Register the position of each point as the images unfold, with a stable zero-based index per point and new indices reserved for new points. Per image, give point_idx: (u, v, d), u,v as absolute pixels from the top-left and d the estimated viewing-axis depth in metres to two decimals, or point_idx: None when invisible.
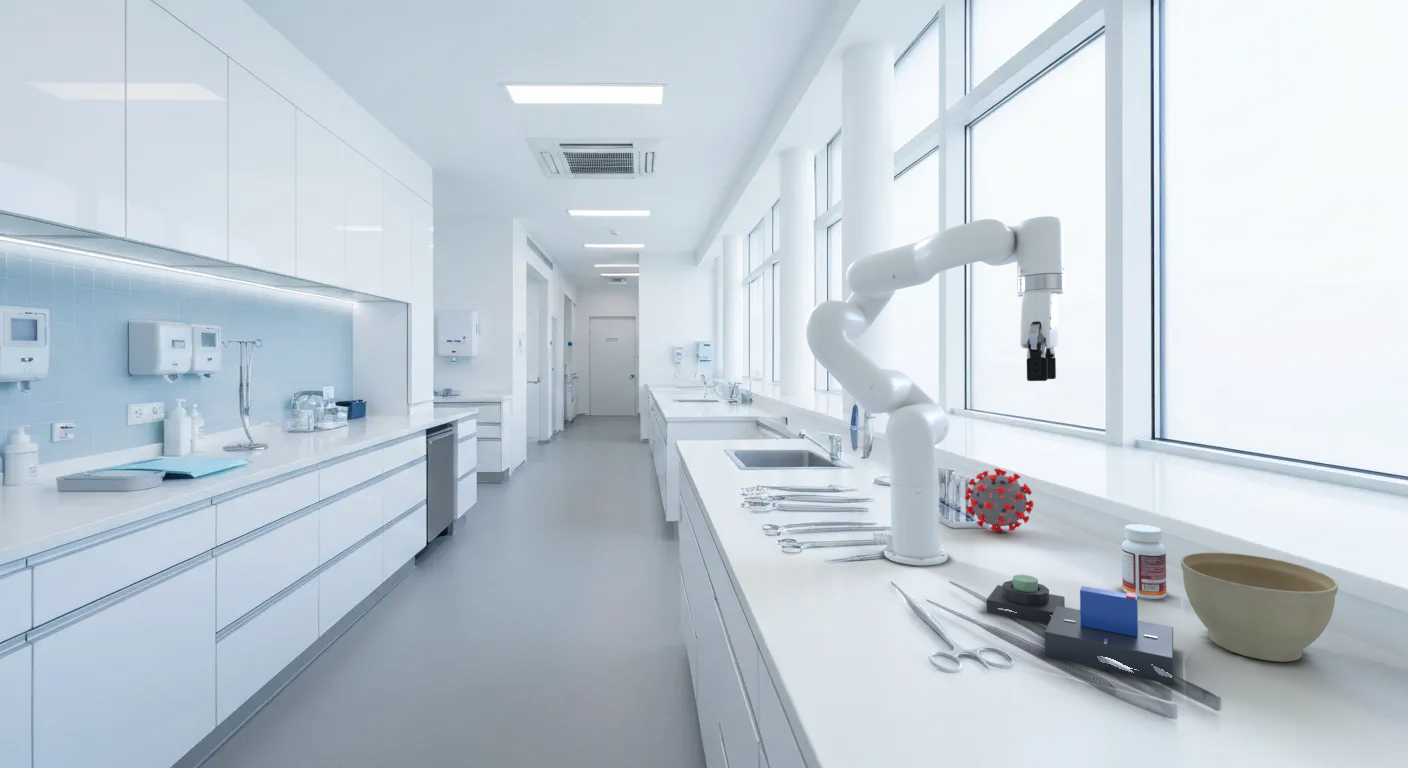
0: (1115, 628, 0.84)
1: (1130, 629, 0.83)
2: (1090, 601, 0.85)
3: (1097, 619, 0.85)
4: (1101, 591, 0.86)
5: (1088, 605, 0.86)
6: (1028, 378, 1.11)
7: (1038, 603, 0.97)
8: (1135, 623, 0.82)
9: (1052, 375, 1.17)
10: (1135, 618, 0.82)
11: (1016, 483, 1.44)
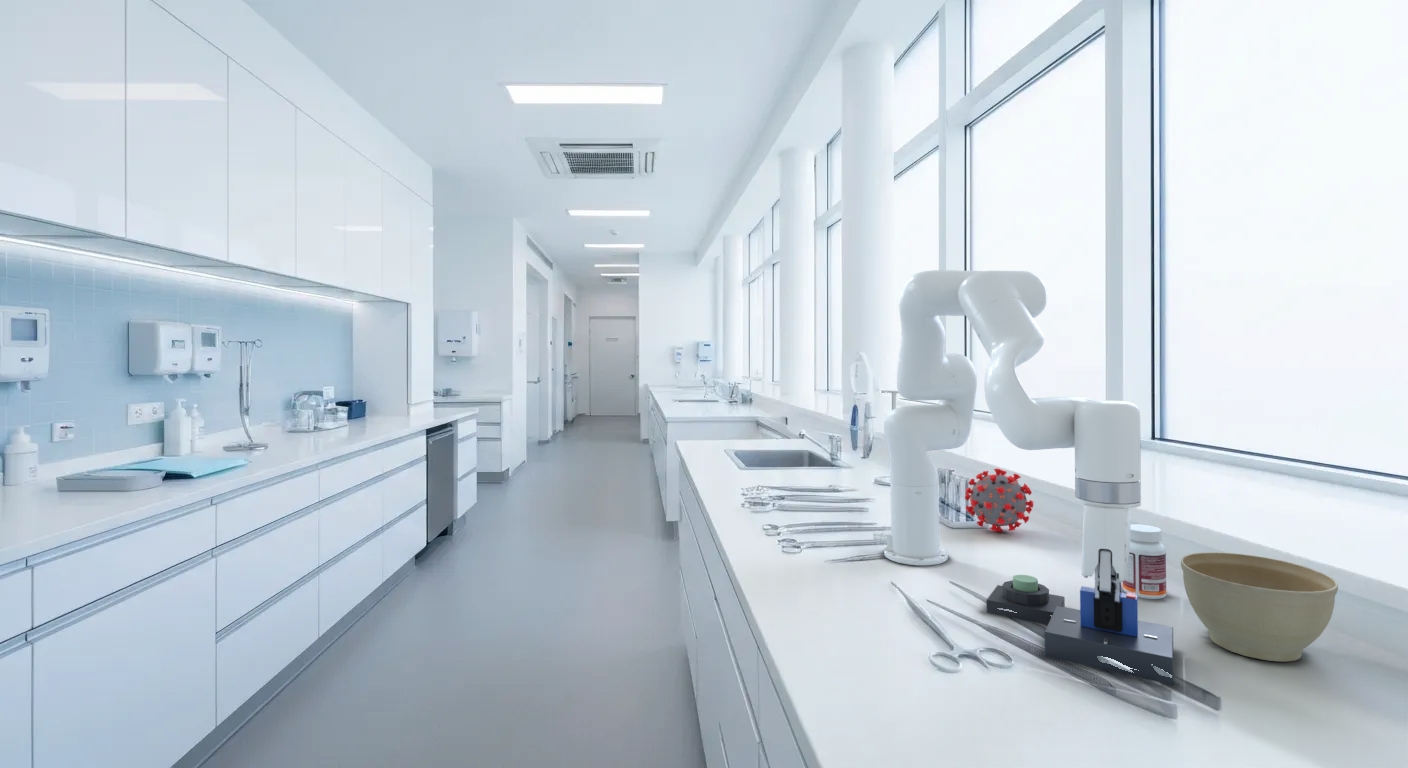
0: None
1: (1130, 629, 0.83)
2: (1090, 601, 0.85)
3: None
4: None
5: (1088, 605, 0.86)
6: (1096, 624, 0.85)
7: (1038, 603, 0.97)
8: (1136, 623, 0.82)
9: None
10: (1135, 618, 0.82)
11: (1016, 483, 1.44)
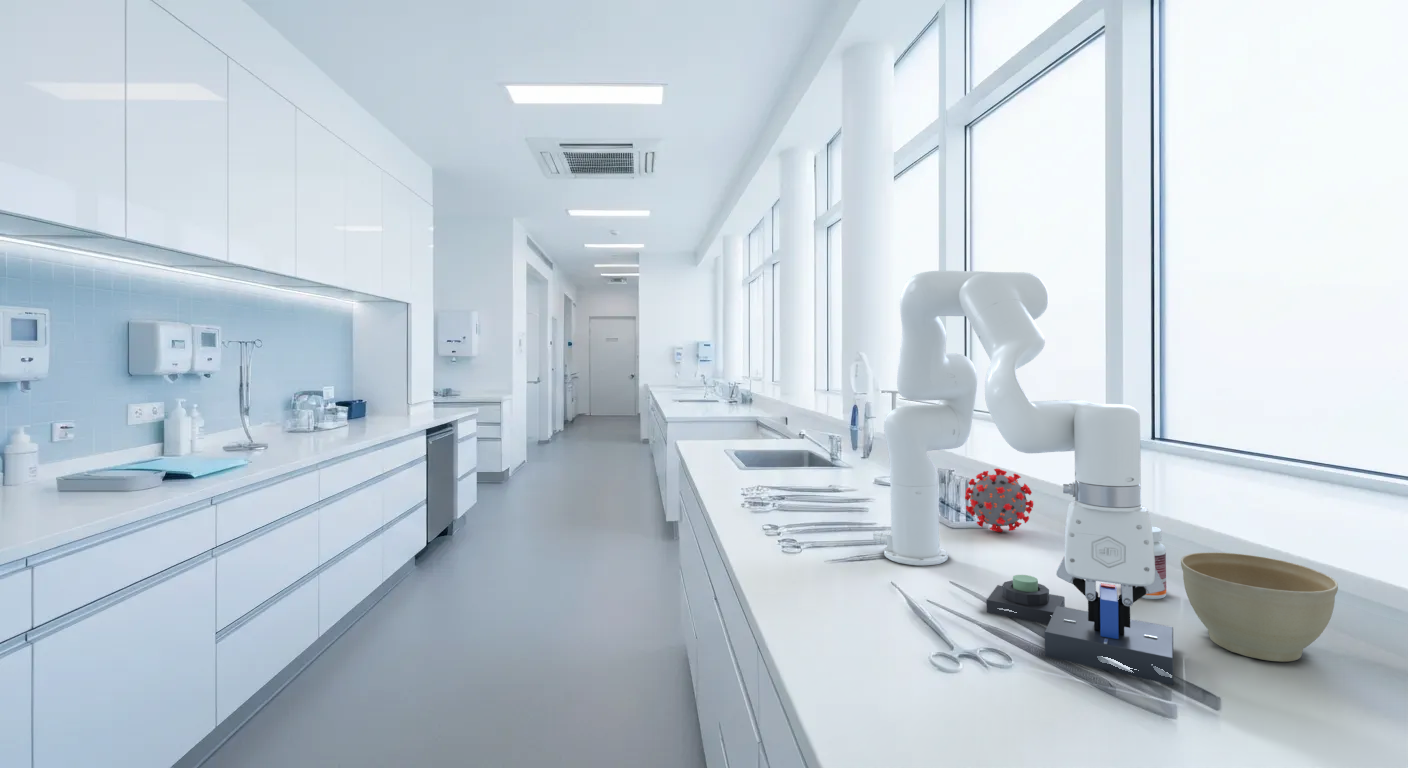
0: None
1: None
2: None
3: None
4: (1107, 594, 0.84)
5: None
6: None
7: (1038, 603, 0.97)
8: None
9: None
10: None
11: (1016, 483, 1.44)
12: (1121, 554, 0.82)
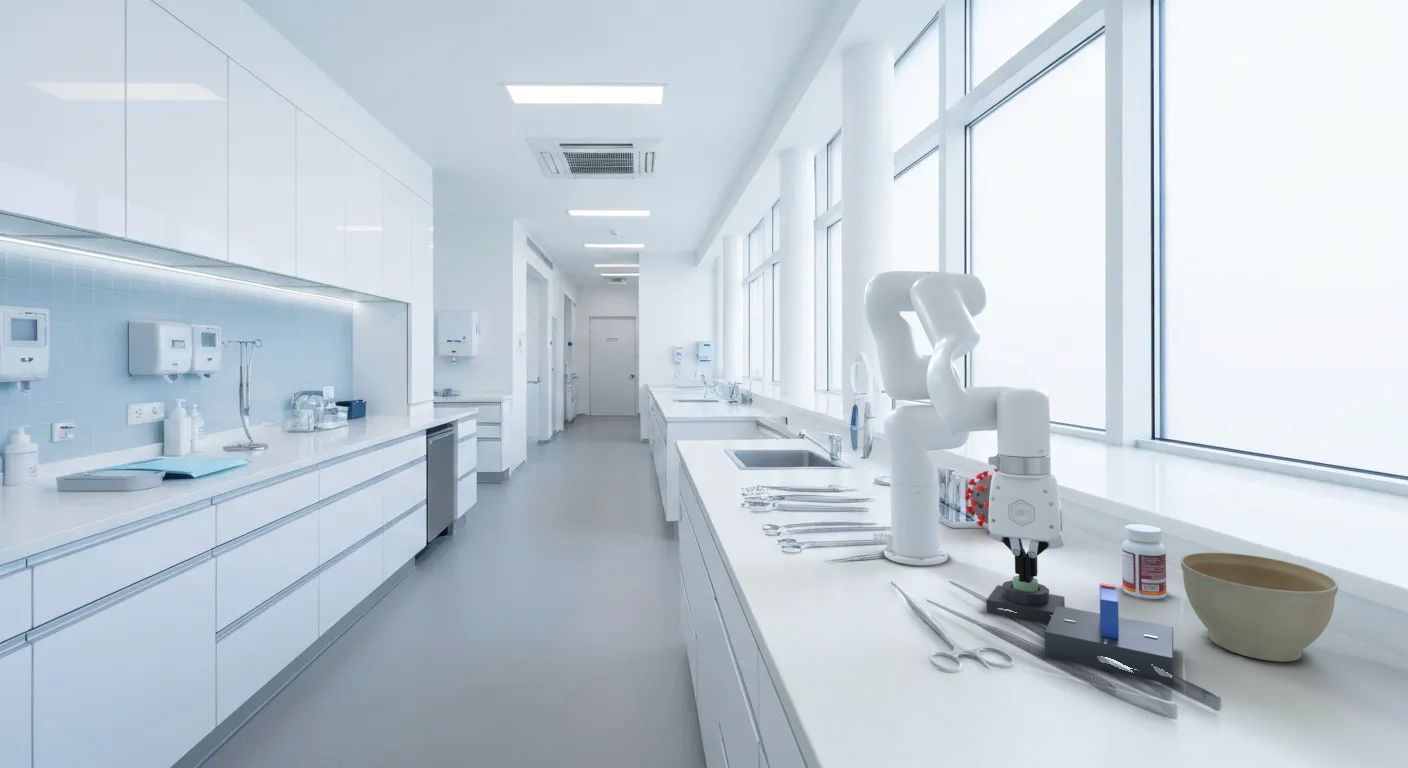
0: None
1: None
2: None
3: None
4: (1107, 594, 0.84)
5: None
6: (1030, 580, 0.99)
7: (1038, 603, 0.97)
8: None
9: None
10: None
11: None
12: (1031, 514, 0.97)
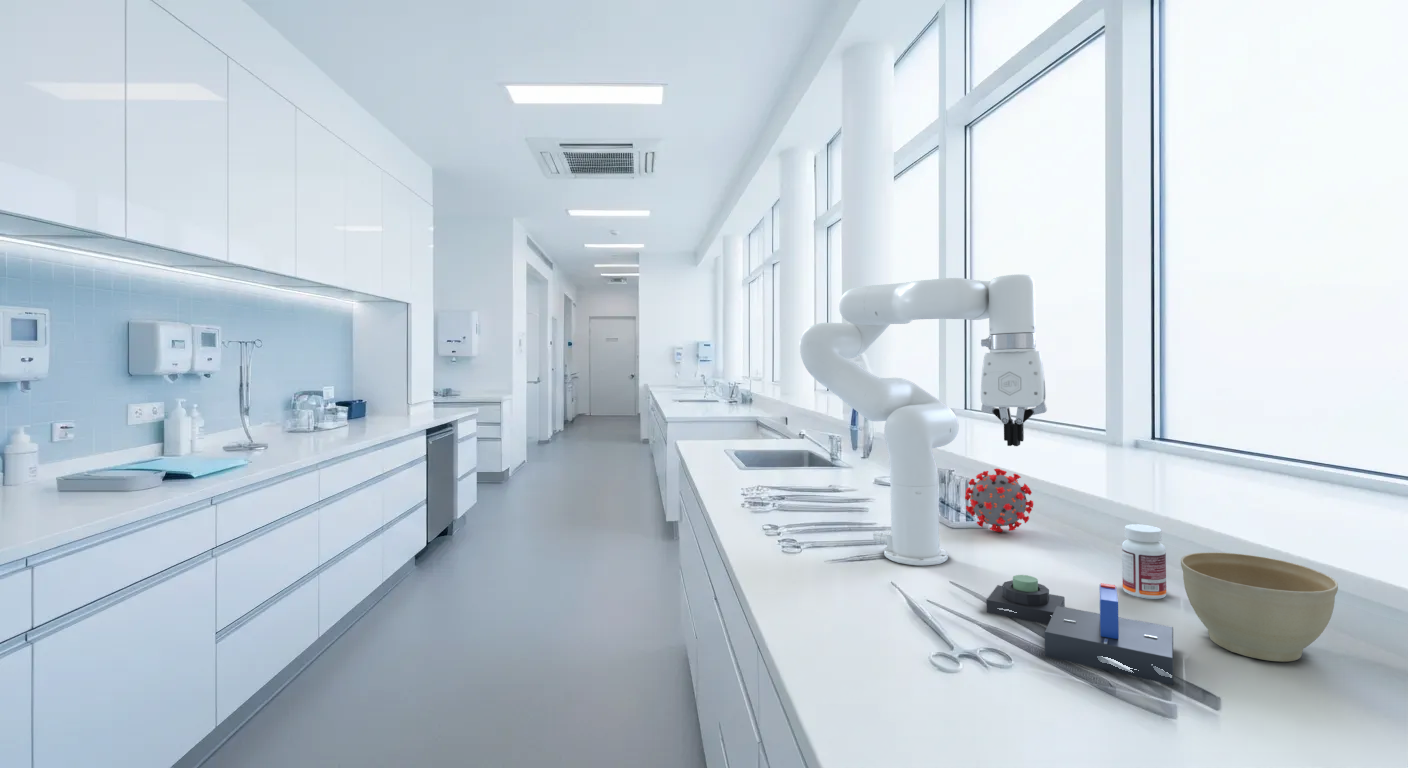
0: None
1: None
2: None
3: None
4: (1107, 594, 0.84)
5: None
6: (1017, 443, 1.12)
7: (1038, 603, 0.97)
8: None
9: None
10: None
11: (1016, 483, 1.44)
12: (1018, 384, 1.10)
